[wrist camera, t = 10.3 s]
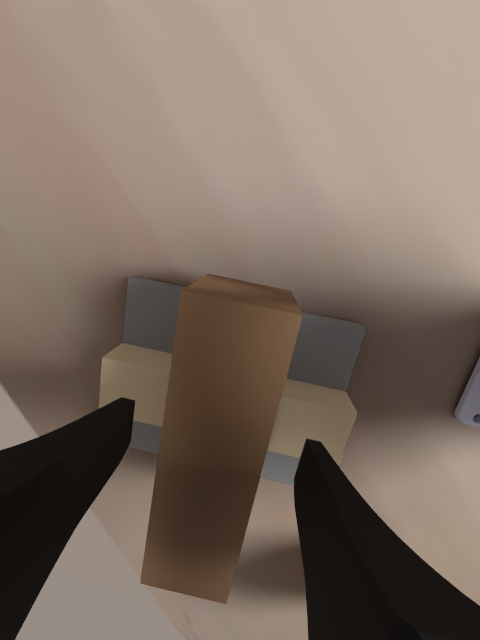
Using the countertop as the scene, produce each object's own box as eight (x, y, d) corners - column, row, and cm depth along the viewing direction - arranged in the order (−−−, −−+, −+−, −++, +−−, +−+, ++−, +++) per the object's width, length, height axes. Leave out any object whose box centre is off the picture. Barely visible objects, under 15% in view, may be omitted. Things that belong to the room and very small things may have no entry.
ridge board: (362, 323, 15) (383, 342, 12) (311, 478, 18) (319, 521, 15) (134, 276, 15) (107, 283, 13) (119, 435, 18) (94, 469, 15)
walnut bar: (291, 291, 12) (302, 315, 8) (236, 512, 15) (226, 604, 12) (208, 273, 12) (181, 290, 8) (171, 497, 15) (140, 583, 12)
